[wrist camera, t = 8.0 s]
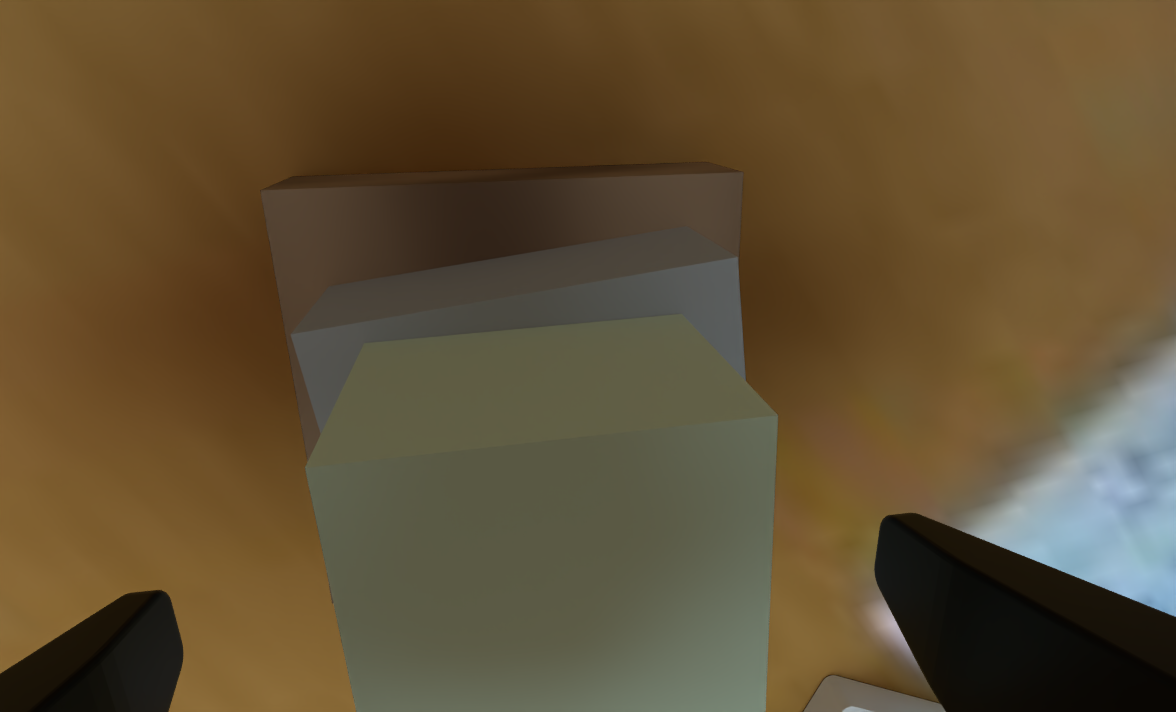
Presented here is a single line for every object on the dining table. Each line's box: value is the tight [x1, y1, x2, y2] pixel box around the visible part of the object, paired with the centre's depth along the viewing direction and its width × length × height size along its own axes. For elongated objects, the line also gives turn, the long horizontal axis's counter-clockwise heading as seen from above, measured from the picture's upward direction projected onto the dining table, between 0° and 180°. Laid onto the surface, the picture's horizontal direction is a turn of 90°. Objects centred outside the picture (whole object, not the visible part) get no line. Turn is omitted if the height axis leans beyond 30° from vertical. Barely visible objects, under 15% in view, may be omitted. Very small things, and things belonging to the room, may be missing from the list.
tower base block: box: [260, 162, 743, 603], centre depth 16 cm, size 9×9×3 cm
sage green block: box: [305, 314, 778, 712], centre depth 10 cm, size 5×5×4 cm
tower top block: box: [291, 226, 746, 433], centre depth 14 cm, size 7×7×3 cm
